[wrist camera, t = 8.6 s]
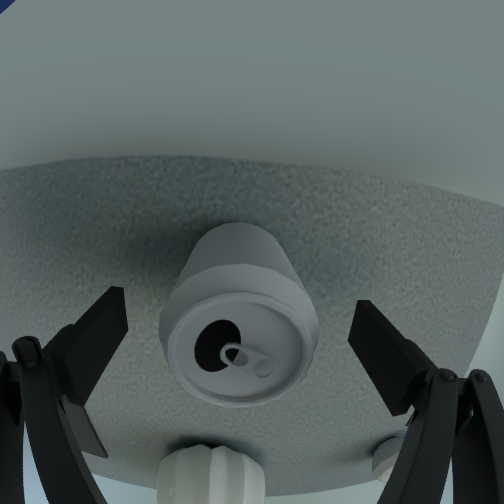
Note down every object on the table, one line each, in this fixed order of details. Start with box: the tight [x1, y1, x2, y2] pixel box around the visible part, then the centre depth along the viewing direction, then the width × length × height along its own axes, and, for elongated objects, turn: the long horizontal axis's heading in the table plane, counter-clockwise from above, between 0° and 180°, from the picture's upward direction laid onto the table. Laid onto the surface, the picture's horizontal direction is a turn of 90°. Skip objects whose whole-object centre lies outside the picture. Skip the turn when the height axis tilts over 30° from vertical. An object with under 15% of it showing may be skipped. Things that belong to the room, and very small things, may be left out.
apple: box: [372, 437, 404, 482], centre depth 29 cm, size 8×8×7 cm
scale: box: [61, 394, 108, 459], centre depth 26 cm, size 17×11×2 cm, turn 176°
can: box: [159, 222, 319, 408], centre depth 17 cm, size 8×8×12 cm
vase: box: [157, 444, 265, 504], centre depth 23 cm, size 14×14×13 cm
